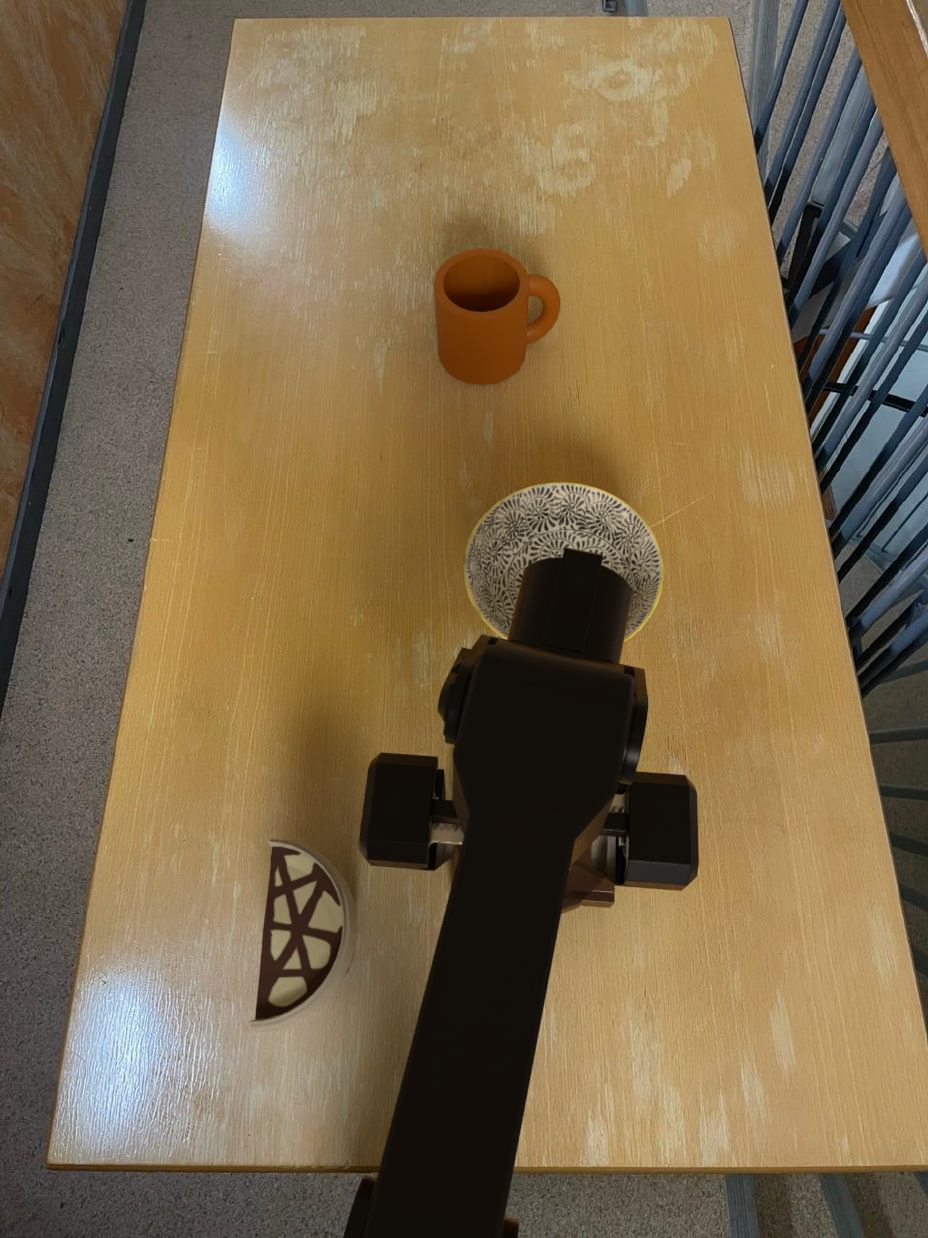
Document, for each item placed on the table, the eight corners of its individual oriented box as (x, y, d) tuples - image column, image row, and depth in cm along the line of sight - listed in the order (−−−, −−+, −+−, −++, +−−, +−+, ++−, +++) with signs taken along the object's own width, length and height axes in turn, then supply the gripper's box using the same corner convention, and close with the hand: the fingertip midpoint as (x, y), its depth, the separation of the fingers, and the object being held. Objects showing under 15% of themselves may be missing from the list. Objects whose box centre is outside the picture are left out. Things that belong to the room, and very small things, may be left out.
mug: (560, 384, 90) (567, 318, 82) (438, 387, 90) (433, 321, 82) (555, 314, 94) (562, 244, 86) (438, 317, 94) (433, 247, 86)
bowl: (428, 622, 80) (423, 583, 73) (535, 496, 85) (539, 448, 78) (581, 728, 75) (590, 696, 68) (684, 589, 80) (702, 546, 73)
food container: (366, 1035, 66) (346, 1034, 57) (281, 1034, 66) (247, 1032, 57) (375, 860, 71) (358, 834, 62) (296, 860, 71) (268, 833, 62)
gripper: (717, 650, 49) (665, 742, 63) (369, 627, 50) (395, 722, 64) (726, 863, 44) (667, 911, 58) (340, 832, 45) (375, 887, 59)
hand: (522, 850), depth 60 cm, fingers open, 9 cm apart
